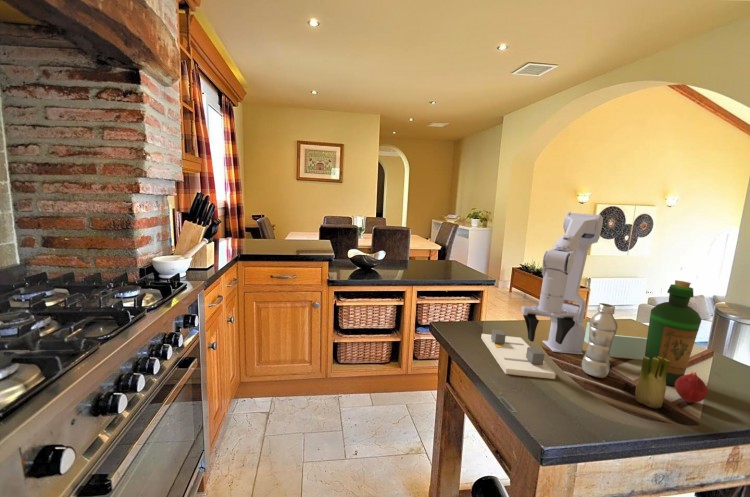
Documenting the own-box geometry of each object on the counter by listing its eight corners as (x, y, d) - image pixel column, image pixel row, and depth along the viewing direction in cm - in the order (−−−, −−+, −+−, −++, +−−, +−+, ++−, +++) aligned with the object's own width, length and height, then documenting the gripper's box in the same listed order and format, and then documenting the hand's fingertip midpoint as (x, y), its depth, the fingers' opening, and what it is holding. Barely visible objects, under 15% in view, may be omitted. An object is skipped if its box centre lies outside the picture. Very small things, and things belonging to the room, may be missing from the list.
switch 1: (500, 339, 110) (501, 330, 109) (504, 344, 106) (505, 335, 105) (490, 338, 110) (492, 329, 109) (494, 343, 106) (496, 334, 105)
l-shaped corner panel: (643, 361, 108) (648, 339, 107) (606, 357, 108) (610, 335, 107) (617, 345, 120) (621, 325, 119) (583, 342, 120) (587, 322, 119)
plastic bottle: (603, 372, 97) (616, 304, 94) (611, 383, 90) (625, 310, 87) (577, 366, 99) (590, 300, 96) (583, 377, 92) (596, 306, 89)
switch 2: (536, 358, 98) (538, 348, 97) (542, 364, 94) (544, 354, 93) (525, 357, 98) (527, 347, 97) (531, 363, 94) (533, 353, 93)
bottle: (675, 392, 89) (699, 287, 85) (630, 372, 98) (649, 277, 94) (693, 385, 94) (717, 286, 90) (648, 366, 103) (668, 276, 99)
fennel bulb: (633, 404, 81) (643, 356, 79) (631, 395, 85) (640, 349, 83) (664, 414, 78) (676, 364, 76) (660, 404, 82) (671, 357, 80)
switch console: (520, 341, 114) (520, 337, 113) (555, 379, 90) (556, 373, 90) (481, 337, 114) (481, 333, 114) (505, 373, 90) (506, 367, 90)
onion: (710, 411, 81) (717, 380, 80) (682, 406, 82) (689, 375, 81) (692, 398, 86) (699, 368, 85) (666, 393, 87) (673, 364, 86)
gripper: (531, 295, 89) (523, 344, 91) (587, 301, 89) (578, 350, 91) (521, 288, 96) (514, 334, 98) (573, 293, 96) (565, 339, 98)
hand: (544, 341), depth 95 cm, fingers open, 7 cm apart
